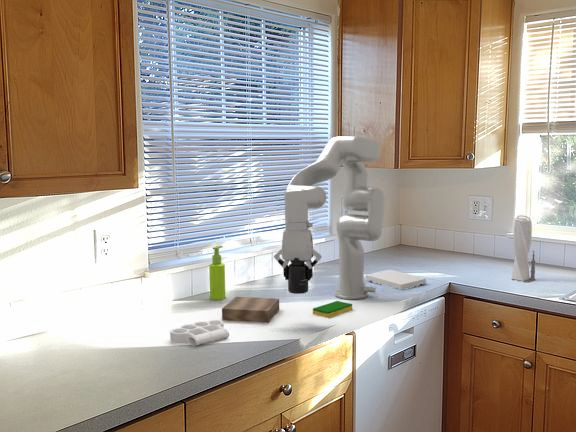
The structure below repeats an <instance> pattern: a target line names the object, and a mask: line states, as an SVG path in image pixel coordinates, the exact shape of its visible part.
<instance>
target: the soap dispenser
mask: <svg viewBox="0 0 576 432" xmlns="http://www.w3.org/2000/svg"><path fill="white" fill-rule="evenodd" d="M221 248H224V246H223V245H215V246H213V247H212V250H214V251H213V252H214V254H213V255H212V256H211V258H212V259H211V260H212V261H211V262H212V263H210V264H208V271H209V272H208V273H209V299H210V300H213V301H220V300H225V299H226V265H225V263H223V262H222V255H221V254H220V249H221Z"/></svg>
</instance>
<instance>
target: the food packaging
mask: <svg viewBox="0 0 576 432" xmlns="http://www.w3.org/2000/svg"><path fill="white" fill-rule="evenodd" d="M365 279H367V280H369V281H371V282H374V283H373V284H376V283H378V284H382V285H386V286H389V287H388V288H390V287H393V288H392V289H394V288H397V289H396V290H398V289H400V290H399V291H403V290H402V289H404V290H407V289H406V288H409V289H411V288H410V287H413V286H417V285H419V286H421V285H420V284H422V285H425V284H427V278H426V277H425V278H424V277H420V276H417V275H412V274H409V273H405V272H402V271H398V270H393V269H386V270H381V271H377V272H373V273H368V274H365ZM378 284H377V285H378ZM382 285H381V286H382ZM386 286H385V287H386ZM417 287H418V286H417ZM413 288H414V287H413Z"/></svg>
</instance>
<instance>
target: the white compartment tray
mask: <svg viewBox="0 0 576 432" xmlns="http://www.w3.org/2000/svg"><path fill="white" fill-rule="evenodd" d="M169 332H170V333H169V334H170V335H169V336H170V338H169V339H170V340H171V341H172V342H171V341H170V342H171V343H173V342H174V344H185V343H186V344H189V345H191V346H192V347H197V346H200V345H203V344H208V343H213V342H216V341H220V340H223V339H224V340H225V339H227V338H229V337H230V333H229V331H228V329H226V328H225V327H224V320H220V319H211V320H207V321H195V322H192V323H189V324H188V323H187V324H183V325H181V326H180V327H177V328H172V329H171V330H170V331H169Z"/></svg>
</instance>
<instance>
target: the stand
mask: <svg viewBox="0 0 576 432" xmlns="http://www.w3.org/2000/svg"><path fill="white" fill-rule="evenodd" d="M279 311H280V298H274V297H273V298H272V297H251V296H250V297H249V296H235V297H234V298H233V299H231V301H229V302H228V303H227V304H225V306H224V307H222V308H221V321H229V322H232V321H233V322H246V323H247V322H249V323H263V324H264V323H268V324H269V322H270V321H271V320H272V319H273V318H274V317H275V315H276V314H277V313H278V312H279Z"/></svg>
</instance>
